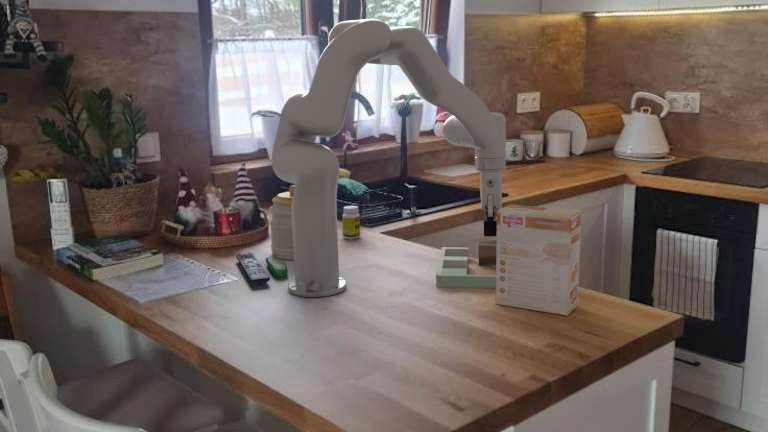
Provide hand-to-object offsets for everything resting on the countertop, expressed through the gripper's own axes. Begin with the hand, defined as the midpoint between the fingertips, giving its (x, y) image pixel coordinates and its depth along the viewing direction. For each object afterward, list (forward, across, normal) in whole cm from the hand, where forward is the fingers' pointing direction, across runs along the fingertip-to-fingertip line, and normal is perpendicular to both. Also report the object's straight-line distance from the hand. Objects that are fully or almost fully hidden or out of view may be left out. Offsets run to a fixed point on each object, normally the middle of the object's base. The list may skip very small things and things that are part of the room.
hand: (490, 235), depth 191 cm
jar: (+3, -6, +48) cm, 49 cm away
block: (+4, -11, 0) cm, 12 cm away
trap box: (+3, -19, +3) cm, 19 cm away
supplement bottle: (+4, +11, +37) cm, 39 cm away
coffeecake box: (+4, -40, -9) cm, 42 cm away
